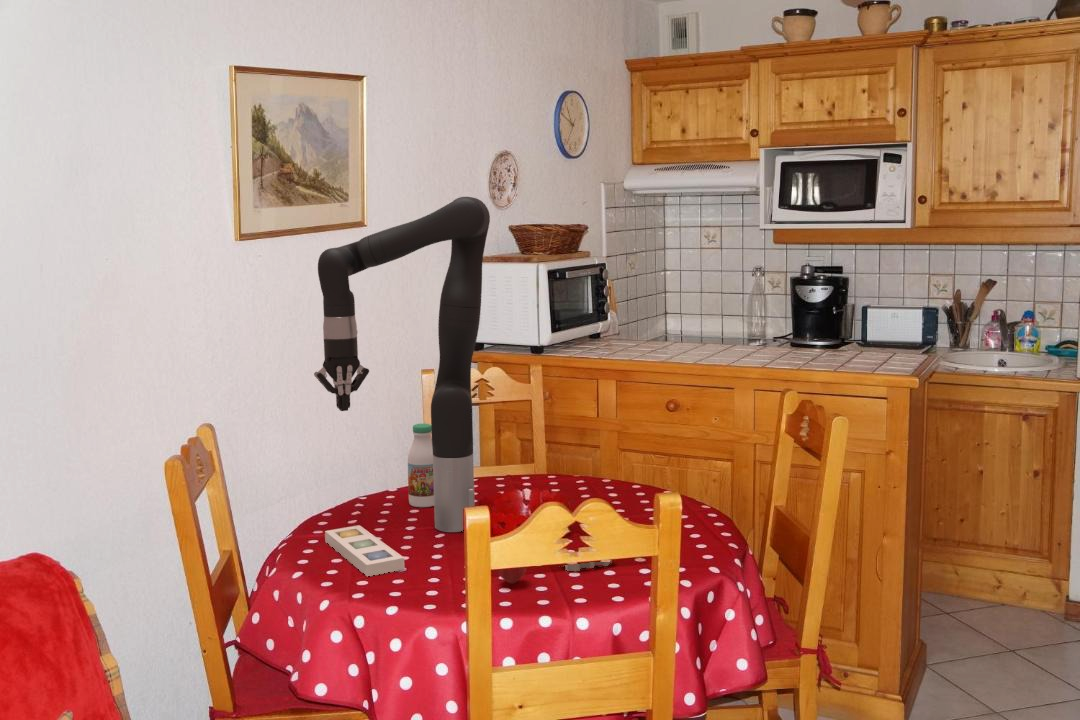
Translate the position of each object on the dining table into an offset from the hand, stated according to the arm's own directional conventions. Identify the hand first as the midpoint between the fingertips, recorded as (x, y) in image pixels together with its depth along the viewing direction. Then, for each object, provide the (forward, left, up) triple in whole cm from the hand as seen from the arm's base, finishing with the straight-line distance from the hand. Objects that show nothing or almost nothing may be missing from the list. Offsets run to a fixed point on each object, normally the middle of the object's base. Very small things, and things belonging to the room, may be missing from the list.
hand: (343, 410), depth 241 cm
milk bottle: (-17, -15, -27) cm, 35 cm away
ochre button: (-2, +15, -26) cm, 31 cm away
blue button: (-10, +31, -26) cm, 42 cm away
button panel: (-6, +23, -27) cm, 36 cm away
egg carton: (-52, +33, -28) cm, 68 cm away
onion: (-37, +43, -27) cm, 63 cm away
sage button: (-6, +23, -26) cm, 35 cm away
